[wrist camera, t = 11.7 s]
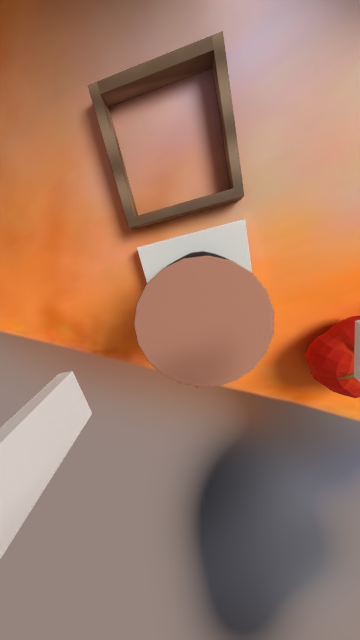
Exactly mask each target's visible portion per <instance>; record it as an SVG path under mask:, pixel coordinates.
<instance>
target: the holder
mask: <svg viewBox="0 0 360 640" xmlns="http://www.w3.org/2000/svg"><path fill="white" fill-rule="evenodd" d="M210 68H213V74H214V81H215V88H216V95H217V102H218V108H219V115H220V122H221V129H222V136H223V142H224V149H225V156H226V163H227V170H228V176H229V183H230V189H229V190H226V191H222V192H219V193H215V194H212V195H208V196H205V197H201V198H198V199H194V200H191V201H187V202H184V203H180V204H177V205H173V206H170V207H167V208H163V209H160V210H156V211H153V212H149V213H146V214H142V215H139V216H138V214H137V210H136V206H135V203H134V199H133V195H132V192H131V188H130V184H129V181H128V177H127V173H126V170H125V166H124V162H123V159H122V155H121V151H120V148H119V144H118V140H117V137H116V133H115V129H114V126H113V122H112V118H111V115H110V111H109V107H110V106H112V105H115V104H118V103H120V102H123V101H125V100H128V99H131V98H133V97H136V96H139V95H141V94H144V93H147V92H149V91H152V90H154V89H157V88H160V87H162V86H165V85H168V84H170V83H173V82H176V81H178V80H181V79H184V78H186V77H189V76H191V75H194V74H197V73H199V72H202V71H205V70H207V69H210ZM88 88H89V91H90V95H91V98H92V102H93V105H94V109H95V112H96V116H97V119H98V123H99V126H100V129H101V133H102V136H103V140H104V143H105V147H106V150H107V154H108V157H109V161H110V164H111V168H112V171H113V174H114V178H115V181H116V185H117V188H118V192H119V195H120V199H121V202H122V206H123V209H124V212H125V216H126V219H127V223H128V226H129V228H131V229H137V228H140V227H144V226H148V225H151V224H155V223H158V222H162V221H166V220H169V219H173V218H176V217H180V216H184V215H187V214H191V213H194V212H198V211H202V210H205V209H209V208H212V207H216V206H219V205H223V204H227V203H230V202H234V201H237V200H241V199H242V197H243V196H244V190H243V183H242V175H241V167H240V160H239V152H238V144H237V137H236V129H235V121H234V114H233V106H232V98H231V91H230V83H229V75H228V68H227V60H226V52H225V45H224V37H223V31H222V32H219V33H217V34H214V35H212V36H209V37H207V38H205V39H202V40H200V41H197V42H195V43H192V44H190V45H187V46H185V47H182V48H180V49H177V50H175V51H172V52H170V53H167V54H165V55H162V56H160V57H157V58H155V59H152V60H150V61H147V62H145V63H142V64H140V65H137V66H135V67H132V68H130V69H127V70H125V71H122V72H120V73H117V74H115V75H112V76H110V77H108V78H105V79H103V80H100V81H98V82H95V83H93V84H90V85H88Z"/></svg>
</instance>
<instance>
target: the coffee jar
mask: <svg viewBox="0 0 360 640" xmlns="http://www.w3.org/2000/svg"><path fill="white" fill-rule="evenodd" d="M134 326H135V331H136V336H137V341H138V344H139V346H140V348H141V350H142V352H143V353H144V355H145V357H146V359H147V361H149V362H150V363H151V364H152V365H153V366H154V367H155V368H156V369H157V370H158V371H159V372H160V373H161V374H163V375H165V376H166V377H168V378H170V379H172V380H174V381H176V382H178V383H181V384H186V385H191V386H195V387H210V386H220V385H223V384H226V383H229V382H232V381H235V380H237V379H239V378H240V377H242V376H243V375H245V374H246V373H248V372H249V371H251V370H252V369H254V367H255V366H256V365H257V364H258V362H259V361H260V360H261V359H262V357H263V356H264V355H265V354H266V352H267V350H268V347H269V344H270V342H271V339H272V336H273V334H274V309H273V307H272V304H271V301H270V298H269V295H268V292H267V290H266V289H265V287H264V286H263V285H262V284H261V283H260V281H259V280H258V279H257V278H256V276H255V275H254V274H253V273H252V272H250V271H249V270H247V269H245V268H244V267H242V266H240V265H239V264H237V263H235V262H234V261H232V260H229V259H227V258H225V257H222V256H220V255H217V254H214V253H209V252H205V251H200V252H192V253H189V254H187V255H185V256H183V257H181V258H179V259H178V260H176V261H174V262H172V263H171V264H169V265H167V266H166V267H165V268H163V269H161V270H160V271H159V272H158V273H157V274H156V275H155V276H154V277H153V278H152V279H151V280H150V281H149V282H148V283H147V284H146V286H145V288H144V290H143V292H142V294H141V296H140V298H139V300H138V302H137V305H136V313H135V321H134Z"/></svg>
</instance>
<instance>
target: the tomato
mask: <svg viewBox="0 0 360 640" xmlns="http://www.w3.org/2000/svg"><path fill="white" fill-rule="evenodd" d="M357 320H360V316H354V317H350V318H347V319H345V320H342V321H340V322H338V323H337V324H335V325H333V326H332V327H331V328H330V329H329V330H328V331H326V332H325V333H323V334H322V335H320V336H318V337H316V338H315V339H314V340H313V341H312V342H311V343H310V345H309V347H308V349H307V351H306V353H305V358H306V360H307V361H308V363H309V365H310V369H311V373H312V375H313V377H314V378H315V379H316V380H317V381H319V382H320V383H322V384H323V385H325V386H326V387H327V388H329V389H330V390H332V391H334V392H336V393H339V394H342V395H346V396H349V397H353V398H358V397H360V382H359V381H358V380H357V379H356V378H355V377H354V347H355V321H357Z"/></svg>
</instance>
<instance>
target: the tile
mask: <svg viewBox="0 0 360 640" xmlns="http://www.w3.org/2000/svg"><path fill="white" fill-rule="evenodd" d="M137 250H138V253H139V256H140V260H141V263H142V267H143V270H144V274H145V277H146V281H147V283H148V282H149V281H150V280H151V279H152V278H153V277H154V276H155V275H156V274H157V273H158V272H159V271H160V270H161V269H163V268H165V267H166V266H167V265H169V264H171V263H172V262H174V261H176V260H178V259H179V258H181V257H183V256H185V255H187V254H189V253H192V252H200V251H205V252H209V253H214V254H217V255H220V256H222V257H225V258H227V259H229V260H232V261H234V262H235V263H237V264H239V265H240V266H242V267H244V268H245V269H247V270H249V271H250V272H252V269H251V261H250V254H249V246H248V239H247V231H246V224H245V219H243V220H239V221H235V222H232V223H228V224H224V225H220V226H216V227H213V228H209V229H205V230H201V231H198V232H194V233H190V234H186V235H182V236H179V237H175V238H171V239H167V240H163V241H160V242H156V243H152V244H148V245H144V246H141V247H137Z"/></svg>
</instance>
